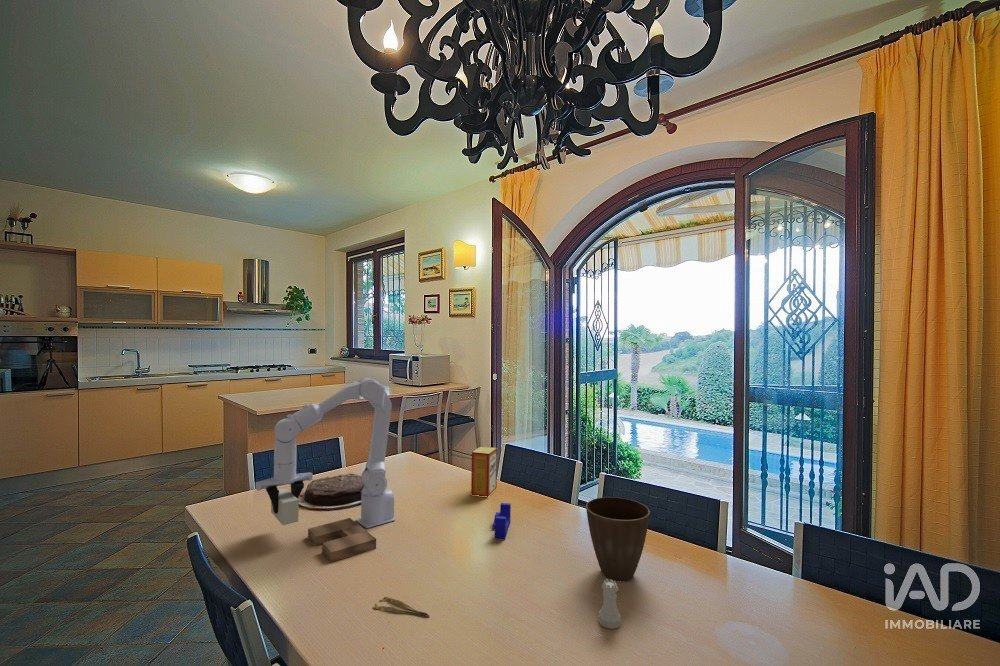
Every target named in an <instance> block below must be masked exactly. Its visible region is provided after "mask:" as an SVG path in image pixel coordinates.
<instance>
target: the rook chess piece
mask: <svg viewBox="0 0 1000 666" xmlns="http://www.w3.org/2000/svg"><path fill="white" fill-rule="evenodd" d="M601 589H602V591H603V592H602V596H603V602H602V606H601V607H600V610H599V612H598V617H597V619H598V622H599V624H600V625H601V626H602V627H603V628H606V629H608V628H609V630H614V629H615V628H616V629H617V627H618V628H620V626H621V624H622V620H621V619H622V617H621V613H620V612H619V609H618V606H617V598H618V595H617V592H618V591H619V587H618V584H617V581H613V580H611V579H608V578H606V579H604V580H603V583H602V585H601Z"/></svg>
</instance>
